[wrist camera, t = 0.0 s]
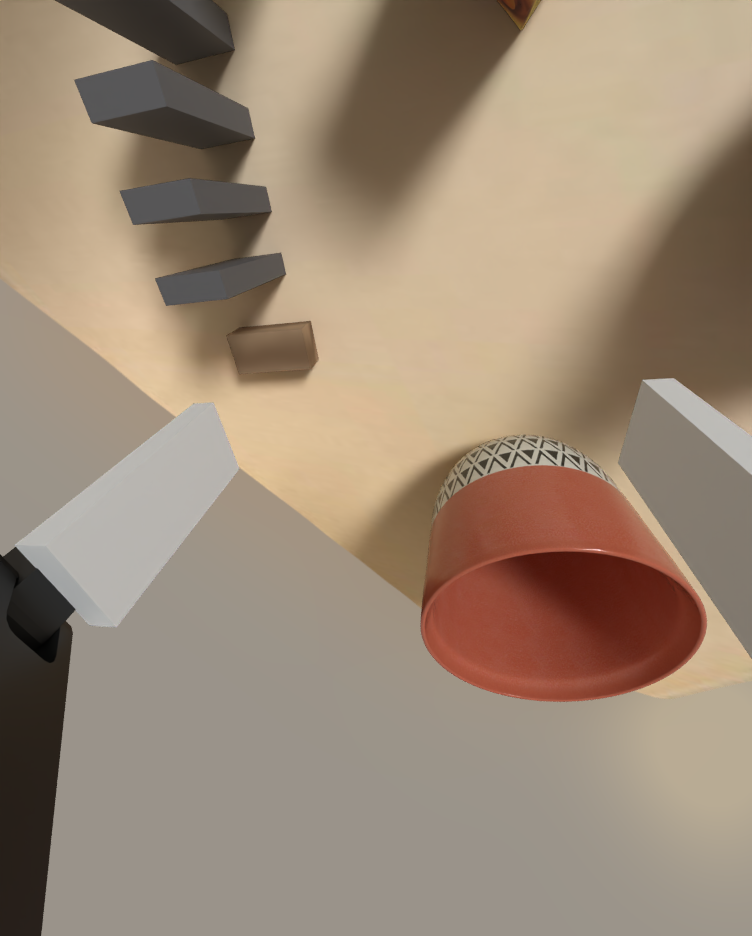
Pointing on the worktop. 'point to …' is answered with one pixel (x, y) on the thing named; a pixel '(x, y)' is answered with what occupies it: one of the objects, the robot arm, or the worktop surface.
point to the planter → (551, 579)
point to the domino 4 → (220, 279)
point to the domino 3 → (194, 201)
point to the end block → (273, 347)
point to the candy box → (519, 10)
